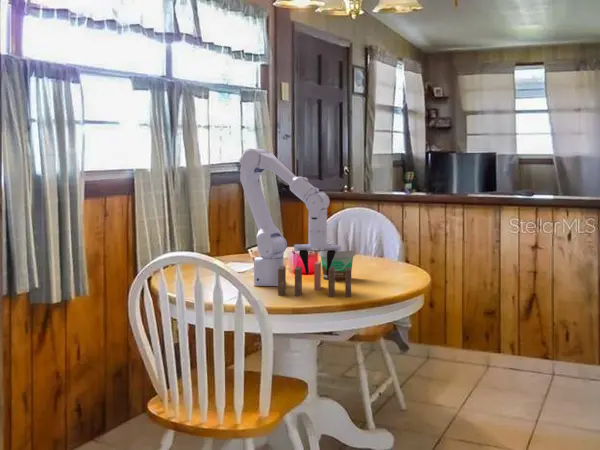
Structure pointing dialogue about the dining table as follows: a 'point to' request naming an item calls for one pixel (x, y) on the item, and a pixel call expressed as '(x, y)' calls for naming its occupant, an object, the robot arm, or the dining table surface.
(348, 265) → the food container
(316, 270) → the domino
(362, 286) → the dining table surface
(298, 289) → the domino
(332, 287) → the domino
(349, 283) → the domino
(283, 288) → the domino
